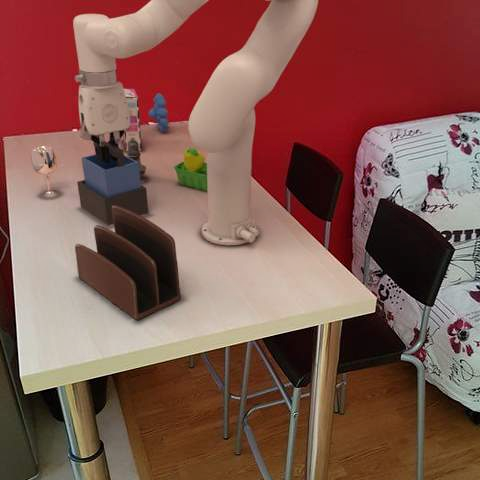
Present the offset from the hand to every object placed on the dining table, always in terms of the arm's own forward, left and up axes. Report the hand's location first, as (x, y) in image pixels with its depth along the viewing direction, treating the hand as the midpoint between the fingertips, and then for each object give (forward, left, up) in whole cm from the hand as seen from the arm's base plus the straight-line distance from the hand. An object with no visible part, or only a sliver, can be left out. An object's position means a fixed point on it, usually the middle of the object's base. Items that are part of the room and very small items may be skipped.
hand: (109, 160), depth 132 cm
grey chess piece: (+14, -14, -13) cm, 24 cm away
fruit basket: (+1, -25, -13) cm, 29 cm away
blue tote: (0, 0, -8) cm, 8 cm away
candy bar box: (+39, -28, -13) cm, 50 cm away
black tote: (0, 0, -13) cm, 13 cm away
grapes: (+47, -43, -13) cm, 66 cm away
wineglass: (+19, +8, -13) cm, 25 cm away
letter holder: (-32, +15, -13) cm, 38 cm away
